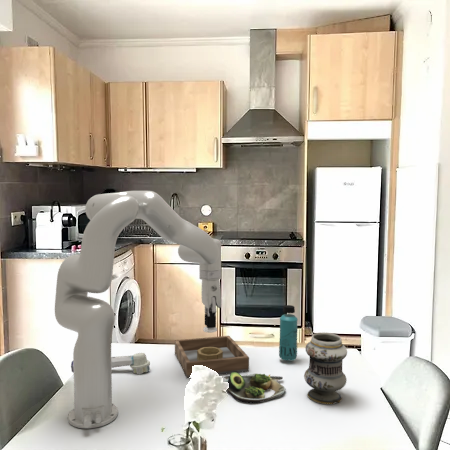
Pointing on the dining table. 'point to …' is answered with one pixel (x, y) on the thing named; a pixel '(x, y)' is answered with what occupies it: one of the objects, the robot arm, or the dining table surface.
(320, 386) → the apothecary jar
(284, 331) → the beverage bottle
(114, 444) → the dining table surface
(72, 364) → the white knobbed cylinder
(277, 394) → the avocado toast plate
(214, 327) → the chess piece
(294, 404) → the dining table surface
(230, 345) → the socket box
